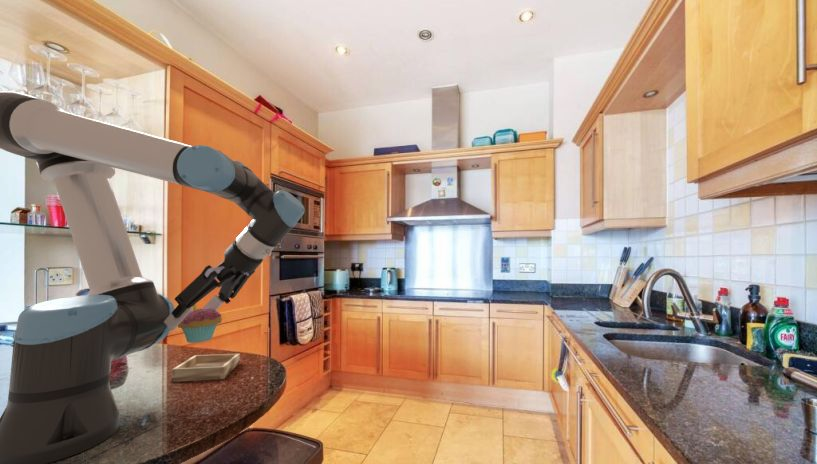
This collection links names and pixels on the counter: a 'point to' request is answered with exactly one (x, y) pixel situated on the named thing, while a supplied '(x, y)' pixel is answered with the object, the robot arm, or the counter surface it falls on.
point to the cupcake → (200, 324)
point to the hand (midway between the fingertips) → (186, 321)
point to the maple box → (205, 367)
